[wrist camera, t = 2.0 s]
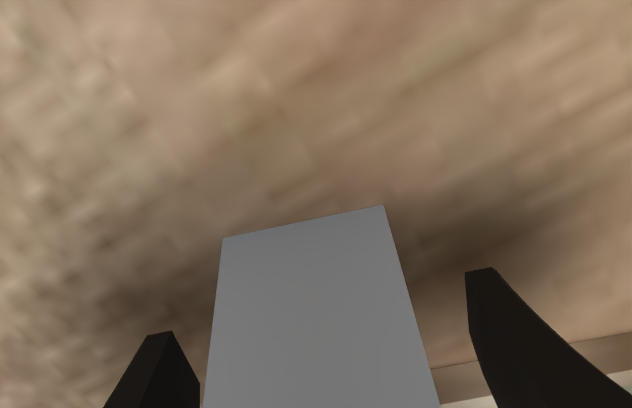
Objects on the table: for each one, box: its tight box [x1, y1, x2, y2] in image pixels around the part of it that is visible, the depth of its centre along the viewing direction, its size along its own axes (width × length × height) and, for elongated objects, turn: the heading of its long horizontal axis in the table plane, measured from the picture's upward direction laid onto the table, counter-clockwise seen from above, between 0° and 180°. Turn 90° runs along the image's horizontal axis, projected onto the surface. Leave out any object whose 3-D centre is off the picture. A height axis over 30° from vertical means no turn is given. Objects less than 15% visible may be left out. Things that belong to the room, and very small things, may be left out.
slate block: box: [202, 205, 441, 408], centre depth 12 cm, size 4×4×6 cm
